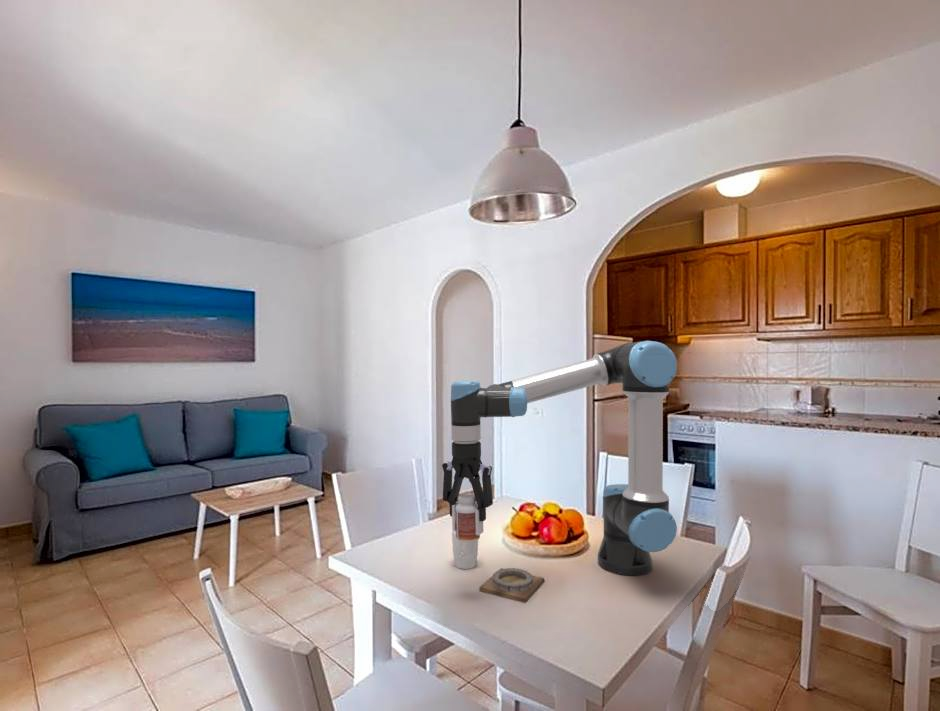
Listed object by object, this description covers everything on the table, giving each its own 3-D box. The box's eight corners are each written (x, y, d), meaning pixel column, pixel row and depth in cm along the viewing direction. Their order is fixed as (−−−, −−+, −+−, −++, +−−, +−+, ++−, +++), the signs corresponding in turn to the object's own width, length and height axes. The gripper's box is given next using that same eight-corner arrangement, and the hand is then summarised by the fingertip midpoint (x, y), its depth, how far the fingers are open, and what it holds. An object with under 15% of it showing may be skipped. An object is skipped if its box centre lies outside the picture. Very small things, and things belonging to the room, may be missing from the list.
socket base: (544, 581, 132) (544, 572, 132) (525, 602, 121) (525, 592, 121) (501, 571, 138) (501, 562, 138) (479, 590, 127) (479, 581, 127)
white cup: (459, 557, 149) (459, 524, 149) (483, 561, 145) (482, 528, 145) (447, 567, 142) (447, 532, 142) (471, 572, 138) (471, 536, 138)
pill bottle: (484, 539, 124) (484, 496, 124) (464, 545, 121) (464, 500, 121) (470, 532, 129) (470, 490, 129) (451, 537, 126) (450, 494, 126)
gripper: (506, 441, 124) (507, 532, 123) (442, 436, 133) (444, 521, 133) (492, 446, 117) (494, 542, 117) (427, 440, 127) (428, 530, 126)
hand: (467, 531), depth 125 cm, fingers closed on pill bottle, 6 cm apart
